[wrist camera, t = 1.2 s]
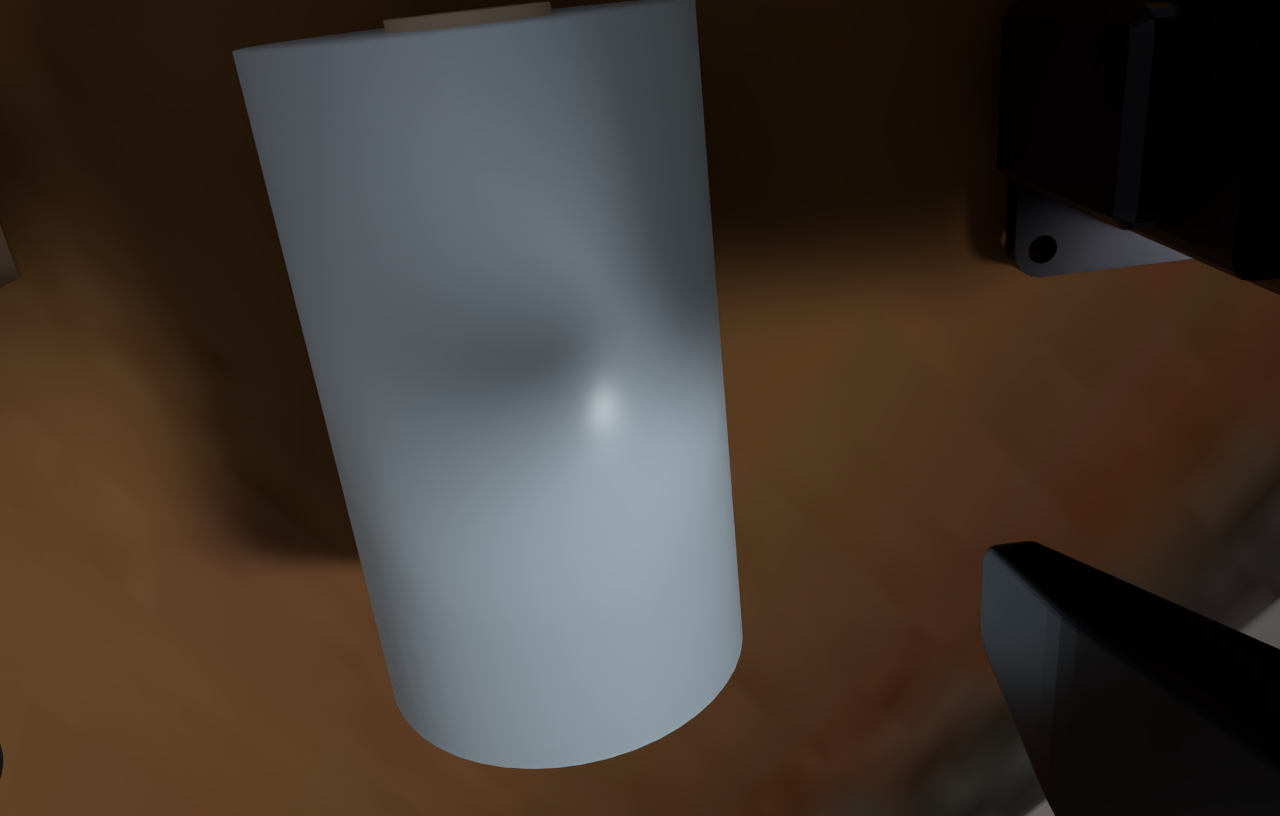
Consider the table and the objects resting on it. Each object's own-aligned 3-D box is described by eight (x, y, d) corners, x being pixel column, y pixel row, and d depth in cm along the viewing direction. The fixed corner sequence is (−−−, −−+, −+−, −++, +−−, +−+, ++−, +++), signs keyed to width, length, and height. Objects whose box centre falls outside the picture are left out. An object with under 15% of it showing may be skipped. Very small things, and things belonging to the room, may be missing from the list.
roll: (279, 29, 16) (166, 50, 10) (656, -14, 16) (741, -16, 11) (407, 581, 20) (377, 810, 14) (704, 533, 20) (784, 735, 15)
